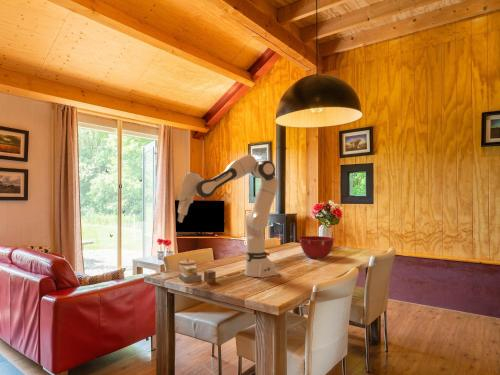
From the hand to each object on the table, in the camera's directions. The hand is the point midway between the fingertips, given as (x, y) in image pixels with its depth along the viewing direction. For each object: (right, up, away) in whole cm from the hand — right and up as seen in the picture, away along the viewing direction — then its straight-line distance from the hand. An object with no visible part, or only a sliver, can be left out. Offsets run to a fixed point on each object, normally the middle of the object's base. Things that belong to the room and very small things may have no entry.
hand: (179, 221), depth 188 cm
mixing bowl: (+95, -37, +73) cm, 125 cm away
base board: (+6, -34, +1) cm, 34 cm away
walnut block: (+18, -34, -3) cm, 39 cm away
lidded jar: (+2, -34, +13) cm, 37 cm away
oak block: (+6, -31, +1) cm, 31 cm away
